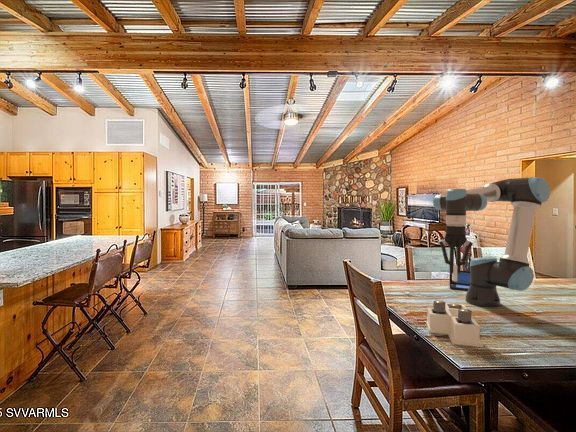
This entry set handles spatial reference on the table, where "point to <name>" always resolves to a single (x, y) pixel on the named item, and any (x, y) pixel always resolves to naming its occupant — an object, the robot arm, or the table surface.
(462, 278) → the handheld game console
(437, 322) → the knob panel
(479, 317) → the table surface
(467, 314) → the knob
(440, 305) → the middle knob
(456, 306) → the knob
